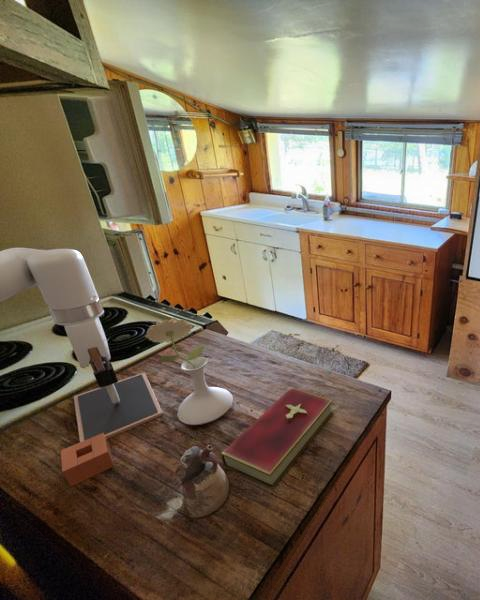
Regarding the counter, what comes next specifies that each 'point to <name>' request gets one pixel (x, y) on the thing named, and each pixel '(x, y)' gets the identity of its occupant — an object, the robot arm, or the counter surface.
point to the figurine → (202, 481)
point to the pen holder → (86, 459)
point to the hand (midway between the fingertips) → (108, 381)
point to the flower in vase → (192, 376)
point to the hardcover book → (277, 437)
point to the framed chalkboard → (116, 408)
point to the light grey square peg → (113, 393)
